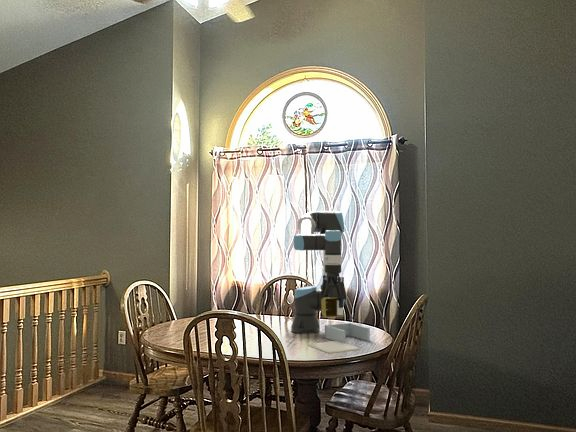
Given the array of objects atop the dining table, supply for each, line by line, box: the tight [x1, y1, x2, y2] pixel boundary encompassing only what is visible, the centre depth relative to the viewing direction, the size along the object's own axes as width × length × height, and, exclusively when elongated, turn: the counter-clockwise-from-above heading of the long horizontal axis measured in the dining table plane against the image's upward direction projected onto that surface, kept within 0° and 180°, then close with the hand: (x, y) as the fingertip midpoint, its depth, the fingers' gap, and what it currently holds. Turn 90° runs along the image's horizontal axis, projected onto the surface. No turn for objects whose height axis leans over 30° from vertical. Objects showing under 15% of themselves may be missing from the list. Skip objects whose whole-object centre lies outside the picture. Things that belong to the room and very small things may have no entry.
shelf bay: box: [324, 322, 371, 344], centre depth 257 cm, size 16×15×6 cm
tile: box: [307, 340, 360, 354], centre depth 239 cm, size 18×16×1 cm
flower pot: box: [321, 298, 344, 319], centre depth 239 cm, size 9×9×9 cm
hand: (333, 313), depth 239 cm, fingers closed on flower pot, 10 cm apart
